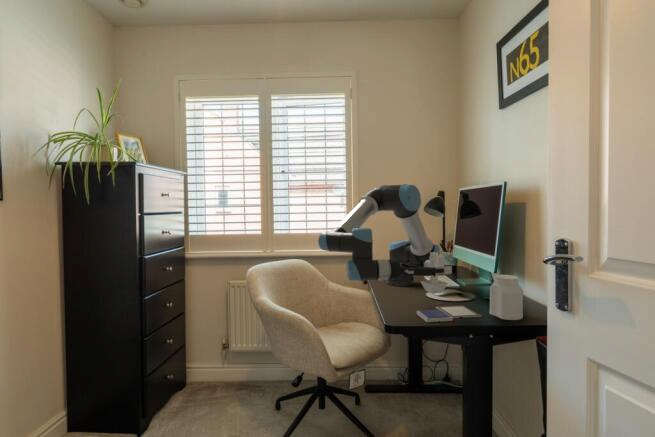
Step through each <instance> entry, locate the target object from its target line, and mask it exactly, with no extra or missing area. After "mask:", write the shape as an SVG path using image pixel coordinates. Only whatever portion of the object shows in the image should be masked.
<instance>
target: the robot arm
mask: <svg viewBox="0 0 655 437" xmlns="http://www.w3.org/2000/svg"><path fill="white" fill-rule="evenodd" d="M421 196H422V195H421V192H420V190H419V188H418V187H417V186H416V185H415V184H407V183H404V184H393V185H392V184H391V185H387V184H385V185H379V186H376V187H375V188H372V189H371V190H369V191H368V192H366V193H365V194H364V195H363V196H361V197H360V198H359V200H358V204H356V205H355V207H354V208H353V209H352V210H351V211H349V212H348V213H347V214H346V215H345V217H344V218H342V220H340V222H338V223H337V225H335V227H333V229H331V230H330V231H323V232H321V233H320V234H319V236H318V240H317V241H318V247H319V248H320V249H321V250H322V251H327V252H332V253H333V252H335V253H336V252H337V253H347V254H351V255H352V256H351V260H348V261H347V262H346V265H345V266H346V269H345V270H346V271H345V272H346V277H347V279H348V280H349V281H357V282H358V281H359V282H364V281H377V280H378V281H379V282H382V281H383V280H384V281H385V280H386V282H385V283H386V284H387V285H389V286H395V287H411V286H414V285H416V284H415V283H416V279H415V276H423V277H424V276H434V277H435V276H436V274H438V275H452V273H453V267H452V266H451V265H449V266H448V265H447V266H445V265H444V266H442V267H425V261H426V260H429V258H430V252H435V253H438V256H439V255H441V254H440V253H441V250H440V245H438V244H436V243H435V244H434V242H433V241H432V239H431V238H429V237H428V236H427V233H426V231H425V228H424V225H423V222H422V220H421V218H420V215H419V210H420V208H421V205H422V198H421ZM382 211H385V212H386V211H387V212H391V211H392V212H393V214H394V216H395V217H397V218H398V219H400V221H401V224H402V226H403V228H404V231H405V233H406V235H407V238H408V240H399V241H398V240H397V241H392V242H390V244H389V250H388V251H389V253H388V254H389V256H388V257H389V259H384V258H382V259H373V255H374V254H373V250H374V249H373V242H374V240H373V231H372V229H371V228H369V227H362V225H364V224H365V222H367V220H368V219H369V218H370V217H371V216H373V215H376V214H377V213H378V212H382Z"/></svg>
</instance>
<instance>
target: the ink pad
mask: <svg viewBox="0 0 655 437" xmlns="http://www.w3.org/2000/svg"><path fill="white" fill-rule="evenodd" d="M416 314H417V315H418V316H419V317H420V318H421V319H422V320H423V321H425V322H426V323H437V322H439V321H440V322H453V321H454V318H453V317H451V316H450V315H448V314H447V313H445V312H444V311H442V310H439V309H427V310H416Z"/></svg>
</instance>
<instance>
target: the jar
mask: <svg viewBox="0 0 655 437" xmlns="http://www.w3.org/2000/svg"><path fill="white" fill-rule="evenodd" d="M523 309H524V290H523V288H522V287H521V286H520V284H519V277H518V276H516V275H512V274H495V275H494V281H493V283H492V284H491V285H490V287H489V315H490V316H491V315H492V316H494V317H497V318H499V319H501V320H507V321H519V320H522V319H523V318H524V313H523V311H524V310H523Z"/></svg>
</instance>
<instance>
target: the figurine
mask: <svg viewBox="0 0 655 437" xmlns="http://www.w3.org/2000/svg"><path fill="white" fill-rule="evenodd" d="M442 266H445V256H444V255H442V254H440V255H439V256H438V253H435V252H430V258H429V260H426V261H425V267H442ZM448 283H449V282H447V281H443V280H439V274H436V276H435V277H434V276H430V278H429V279H426V280H420V284H421V285H422V287H423V288H424V291H426V292H428V293H431V294H439V293H443V292H444V291H445V289H446V288H447V286H448Z"/></svg>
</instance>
